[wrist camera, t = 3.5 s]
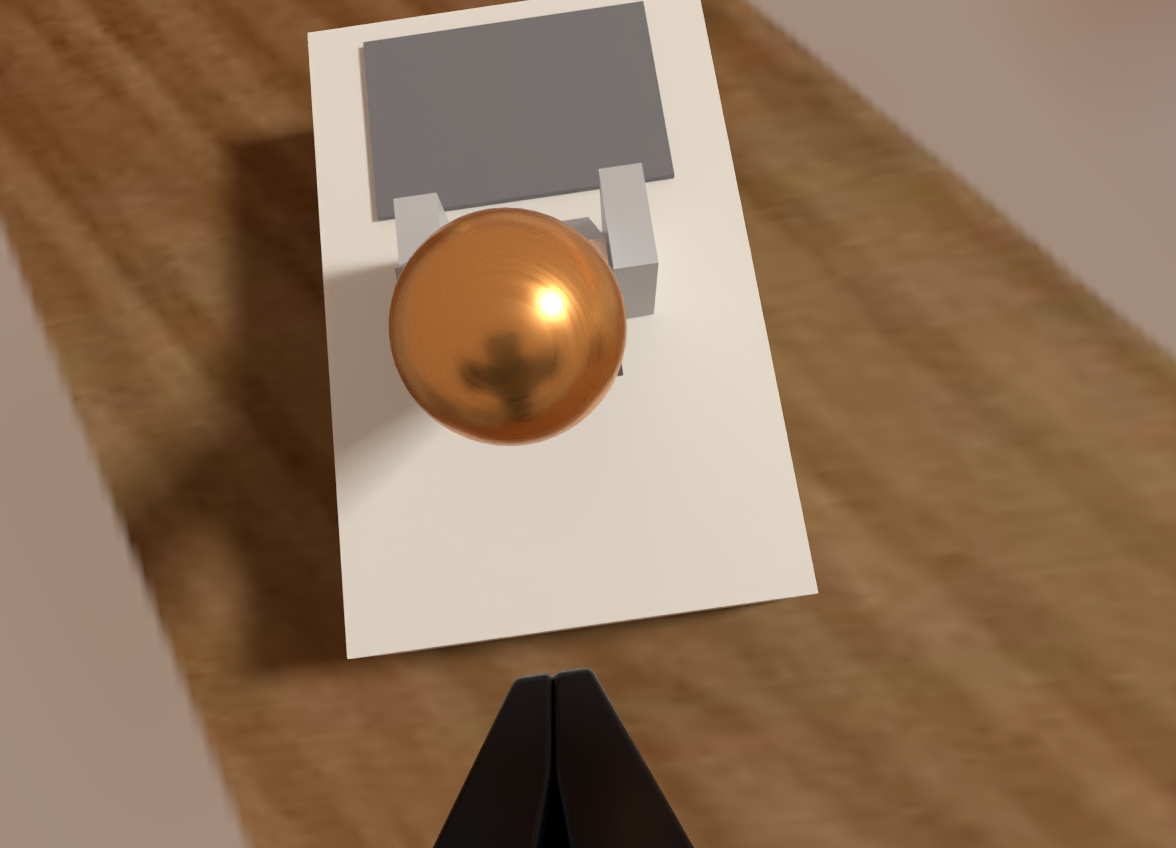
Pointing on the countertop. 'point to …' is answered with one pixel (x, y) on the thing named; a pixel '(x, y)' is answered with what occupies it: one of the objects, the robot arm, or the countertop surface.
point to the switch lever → (508, 325)
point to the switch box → (653, 341)
